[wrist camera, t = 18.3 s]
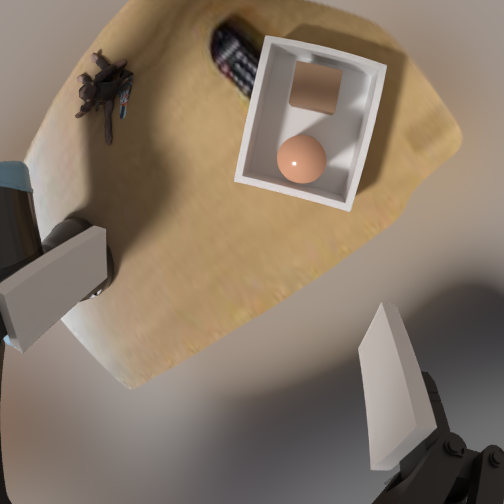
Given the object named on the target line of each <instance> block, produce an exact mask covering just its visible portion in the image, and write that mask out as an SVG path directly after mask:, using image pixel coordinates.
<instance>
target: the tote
mask: <svg viewBox="0 0 504 504" xmlns="http://www.w3.org/2000/svg"><path fill="white" fill-rule="evenodd" d="M296 61H302V62H307V63H312V64H317V65H322V66H326V67H330V68H334V69H339V70H342V71H343V73H342V79H341V84H340V89H339V95H338V100H337V105H336V110H335V113H334V114H333V115H332V116H331V115H327V114H323V113H319V112H314V111H310V110H305V109H301V108H296V107H291V105H290V104H289V103H288V102H289V97H290V92H291V87H292V82H293V77H294V72H295V66H296ZM386 69H387V65H384V64H382V63H379V62H376V61H373V60H370V59H367V58H363V57H360V56H357V55H354V54H350V53H347V52H343V51H339V50H336V49H332V48H328V47H324V46H320V45H315V44H311V43H306V42H301V41H296V40H291V39H285V38H279V37H273V36H265V40H264V44H263V48H262V53H261V57H260V61H259V66H258V70H257V74H256V79H255V83H254V88H253V92H252V97H251V101H250V106H249V110H248V115H247V120H246V124H245V129H244V134H243V139H242V144H241V148H240V153H239V158H238V163H237V168H236V173H235V178H234V181H235V182H240V183H244V184H248V185H252V186H256V187H260V188H264V189H268V190H272V191H276V192H280V193H284V194H288V195H292V196H295V197H299V198H303V199H307V200H310V201H314V202H317V203H321V204H324V205H328V206H331V207H335V208H338V209H342V210H345V211H348V212H350V211H351V208H352V204H353V201H354V198H355V194H356V191H357V188H358V184H359V181H360V177H361V174H362V170H363V167H364V163H365V159H366V155H367V152H368V148H369V144H370V140H371V136H372V132H373V128H374V124H375V120H376V116H377V111H378V107H379V103H380V98H381V93H382V89H383V84H384V79H385V74H386ZM297 135H308V136H311V137H313V138H315V139H316V140H317V141H318V142H319V143H320V144H321V146H322V147H323V149H324V151H325V154H326V166H325V169H324V171H323V173H322V174H321V176H320V177H319V178H317V179H316V180H314V181H312V182H309V183H303V184H302V183H295V182H292V181H290V180H289V179H287V178H286V177H285V176H284V175H283V174H282V173H281V171H280V169H279V167H278V163H277V154H278V151H279V148H280V147H281V145H282V144H283V143H284V142H285V141H286V140H287V139H289V138H291V137H293V136H297Z"/></svg>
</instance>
